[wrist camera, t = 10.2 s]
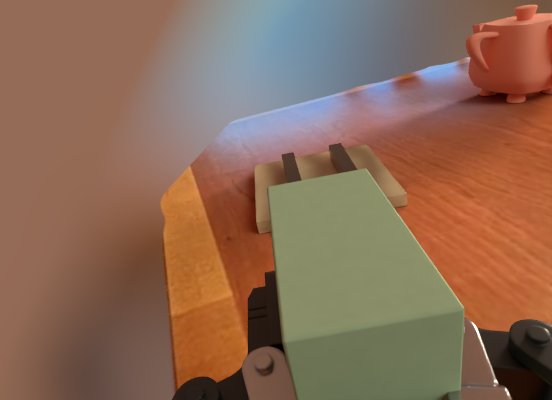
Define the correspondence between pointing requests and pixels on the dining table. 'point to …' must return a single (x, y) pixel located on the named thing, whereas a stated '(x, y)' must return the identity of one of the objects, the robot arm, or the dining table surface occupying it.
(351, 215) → the green rectangular block
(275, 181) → the seat base
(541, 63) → the teapot
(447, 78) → the dining table surface
